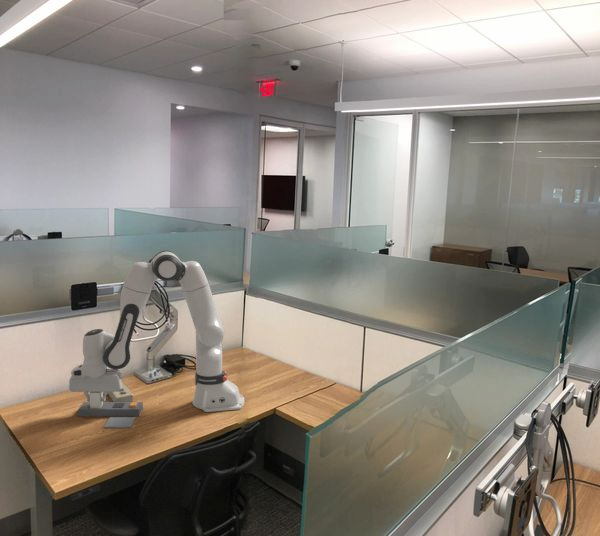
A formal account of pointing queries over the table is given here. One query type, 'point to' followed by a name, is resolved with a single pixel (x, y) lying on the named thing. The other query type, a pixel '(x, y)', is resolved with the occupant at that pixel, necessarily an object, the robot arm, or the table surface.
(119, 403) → the power strip
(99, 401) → the charger
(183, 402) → the table surface
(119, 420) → the mat
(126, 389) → the electrical outlet
